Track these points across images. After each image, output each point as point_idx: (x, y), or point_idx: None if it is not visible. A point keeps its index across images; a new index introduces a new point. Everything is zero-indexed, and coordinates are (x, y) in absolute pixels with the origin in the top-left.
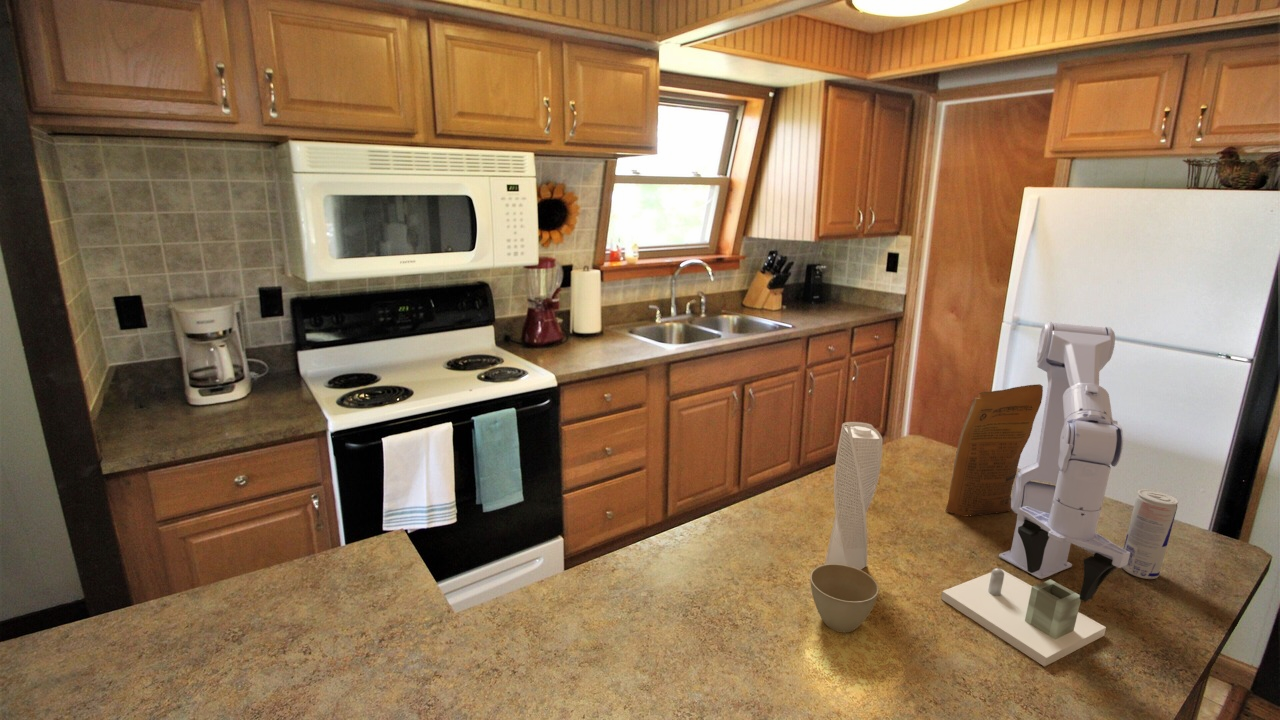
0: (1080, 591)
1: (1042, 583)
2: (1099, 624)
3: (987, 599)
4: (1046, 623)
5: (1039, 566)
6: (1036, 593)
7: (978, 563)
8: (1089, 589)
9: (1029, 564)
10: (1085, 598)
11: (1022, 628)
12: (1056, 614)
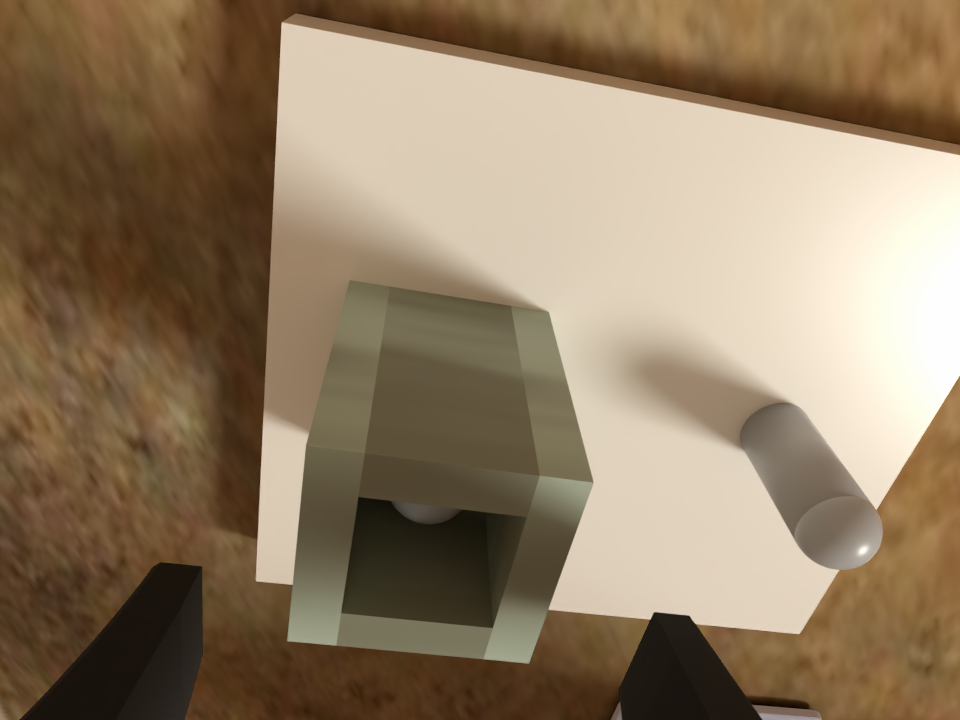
0: (166, 628)
1: (549, 582)
2: (284, 578)
3: (791, 338)
4: (416, 325)
5: (630, 718)
6: (540, 452)
7: (888, 615)
8: (49, 691)
9: (710, 678)
10: (138, 590)
11: (528, 220)
12: (356, 379)
